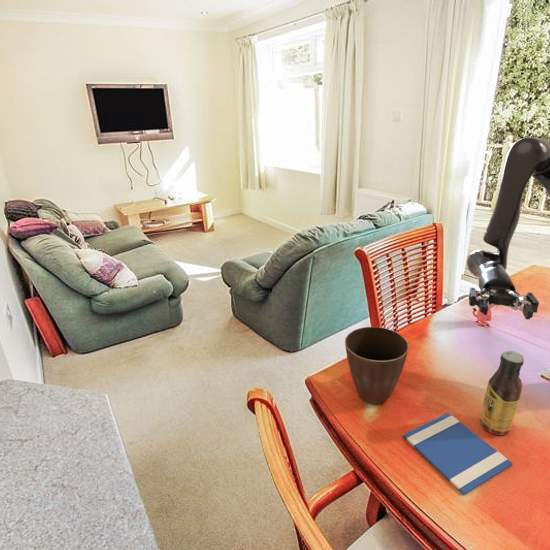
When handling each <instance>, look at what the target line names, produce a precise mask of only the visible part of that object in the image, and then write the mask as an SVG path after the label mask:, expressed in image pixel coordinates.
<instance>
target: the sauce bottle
mask: <svg viewBox="0 0 550 550" xmlns="http://www.w3.org/2000/svg"><path fill="white" fill-rule="evenodd" d="M499 359H500V362H499V366H498V368H497V370H496V371H495V372H494V374H492V376H491V377H490V378H489V379H488V382H487V386H486V391H485V394H484V398H483V402H482V403H483V404H482V407H481V412H480V421H479V422H480V425H481V427H483V428H484V430H485V431H486V432H488V433H490V434H493V435H495V436H496V435H497V436H505V435H508V434H509V433H510V431H511V430H512V426H513V424H514V420H515V417H516V414H517V410H518V406H519V404H520V403H519V402H520V399H521V394H522V390H523V382H522V379H521V378H520V374H521V373H520V372H521V369H522V367H523V366H524V363H525V358H524V356H523V355H522V354H521V353H518V352H517V351H515V350H514V351H513V350H505V351H503V352H501V354H500V358H499Z"/></svg>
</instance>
